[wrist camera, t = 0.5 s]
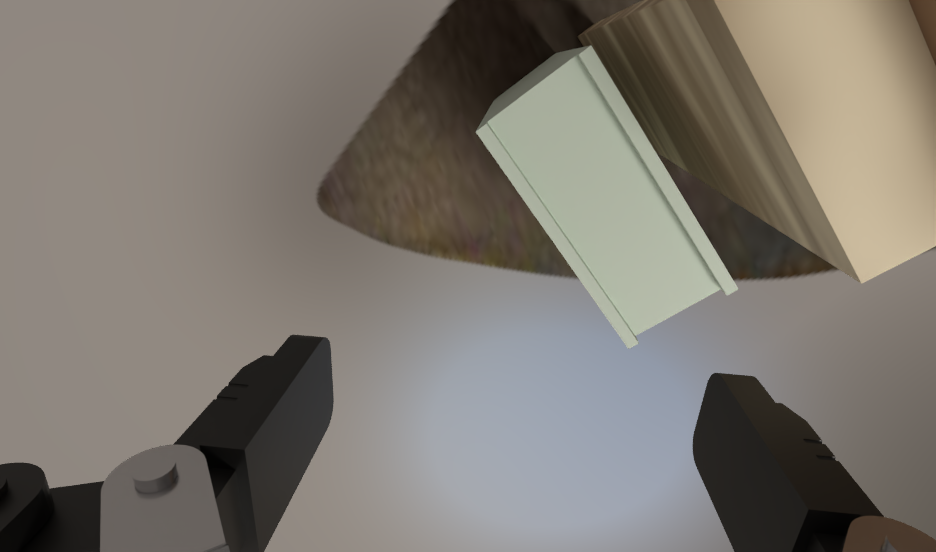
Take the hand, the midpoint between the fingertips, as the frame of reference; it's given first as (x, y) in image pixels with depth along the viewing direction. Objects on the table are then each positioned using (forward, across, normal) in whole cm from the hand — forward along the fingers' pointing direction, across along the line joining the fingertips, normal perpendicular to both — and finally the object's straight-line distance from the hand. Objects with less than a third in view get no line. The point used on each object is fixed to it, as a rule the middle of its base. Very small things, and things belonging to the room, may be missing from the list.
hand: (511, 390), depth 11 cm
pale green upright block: (+36, -5, 0) cm, 36 cm away
